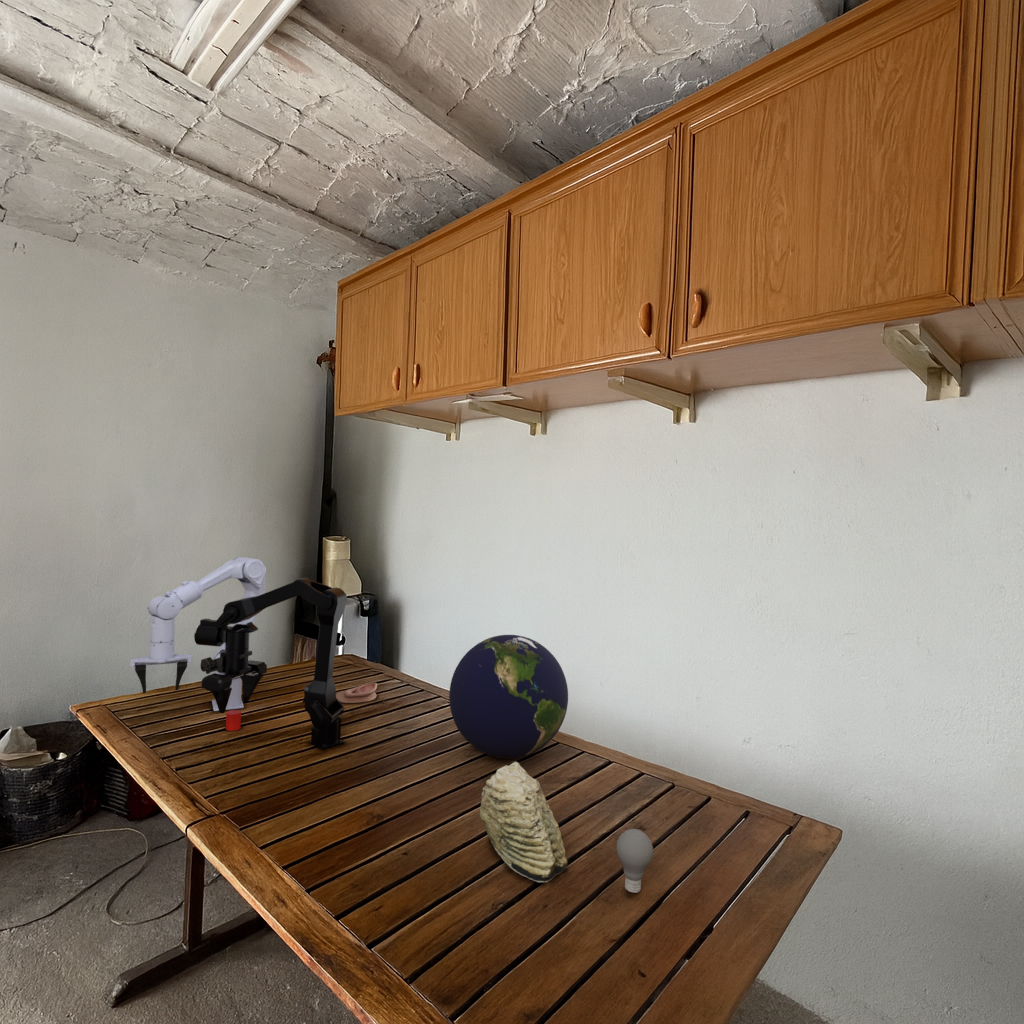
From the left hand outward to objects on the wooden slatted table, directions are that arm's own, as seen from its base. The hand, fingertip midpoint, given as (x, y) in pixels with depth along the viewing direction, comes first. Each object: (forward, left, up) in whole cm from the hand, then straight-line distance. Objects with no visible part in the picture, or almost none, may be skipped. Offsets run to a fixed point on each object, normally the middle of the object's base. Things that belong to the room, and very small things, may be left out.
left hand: (160, 690), depth 172 cm
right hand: (+17, +17, -1) cm, 24 cm away
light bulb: (+113, +71, -9) cm, 134 cm away
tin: (+12, +17, -9) cm, 23 cm away
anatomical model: (-2, +54, -9) cm, 54 cm away
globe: (+55, +78, -9) cm, 95 cm away
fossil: (+97, +58, -9) cm, 113 cm away
